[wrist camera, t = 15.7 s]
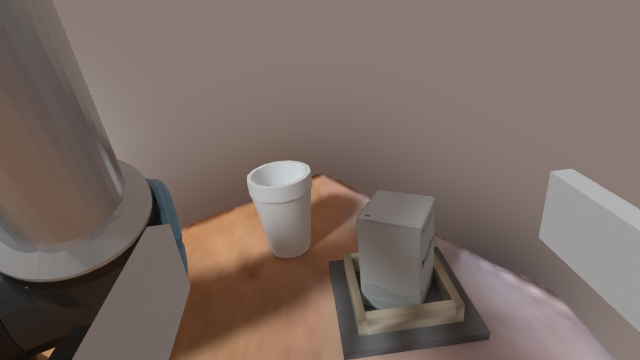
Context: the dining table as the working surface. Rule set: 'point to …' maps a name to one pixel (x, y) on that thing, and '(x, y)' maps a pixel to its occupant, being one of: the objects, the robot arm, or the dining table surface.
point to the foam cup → (283, 205)
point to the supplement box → (396, 249)
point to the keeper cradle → (403, 314)
